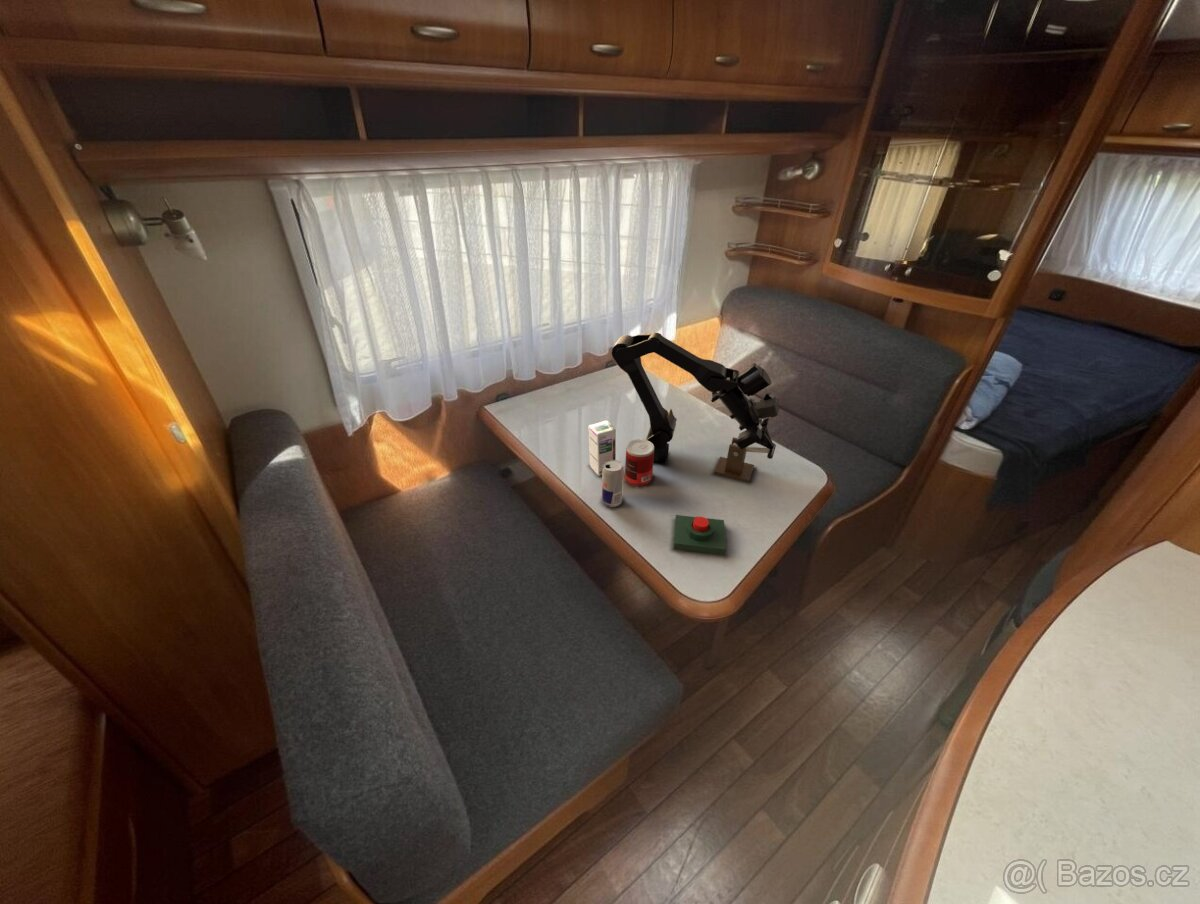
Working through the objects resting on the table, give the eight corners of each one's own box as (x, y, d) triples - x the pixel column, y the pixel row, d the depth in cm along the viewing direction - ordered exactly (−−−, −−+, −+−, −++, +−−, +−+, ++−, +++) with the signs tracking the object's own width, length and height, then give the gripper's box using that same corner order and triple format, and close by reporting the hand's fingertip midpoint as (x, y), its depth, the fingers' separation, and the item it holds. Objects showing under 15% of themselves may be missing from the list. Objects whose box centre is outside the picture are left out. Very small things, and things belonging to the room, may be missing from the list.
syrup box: (598, 476, 137) (598, 434, 129) (589, 465, 142) (588, 424, 133) (615, 471, 140) (616, 429, 131) (606, 460, 144) (606, 419, 136)
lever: (775, 449, 133) (775, 441, 132) (772, 460, 129) (772, 453, 128) (735, 446, 138) (735, 439, 137) (730, 457, 134) (730, 450, 133)
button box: (673, 549, 114) (674, 537, 112) (674, 521, 122) (676, 509, 120) (724, 555, 113) (726, 543, 110) (722, 526, 121) (725, 514, 118)
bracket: (753, 468, 141) (759, 440, 135) (748, 483, 135) (754, 455, 129) (719, 459, 144) (724, 432, 139) (713, 474, 138) (718, 446, 133)
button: (692, 531, 114) (693, 525, 113) (692, 521, 117) (693, 515, 116) (708, 533, 114) (709, 527, 113) (707, 522, 117) (708, 517, 116)
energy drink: (601, 495, 131) (601, 459, 124) (620, 494, 131) (621, 458, 124) (603, 508, 126) (603, 472, 119) (623, 507, 127) (624, 471, 120)
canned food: (654, 473, 139) (657, 441, 133) (648, 489, 133) (650, 457, 126) (629, 467, 141) (630, 436, 135) (621, 484, 135) (622, 452, 128)
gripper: (757, 405, 116) (795, 453, 118) (769, 374, 129) (802, 418, 132) (720, 426, 123) (756, 471, 125) (735, 394, 137) (767, 435, 139)
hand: (772, 448), depth 130 cm, fingers closed, pressing on lever
